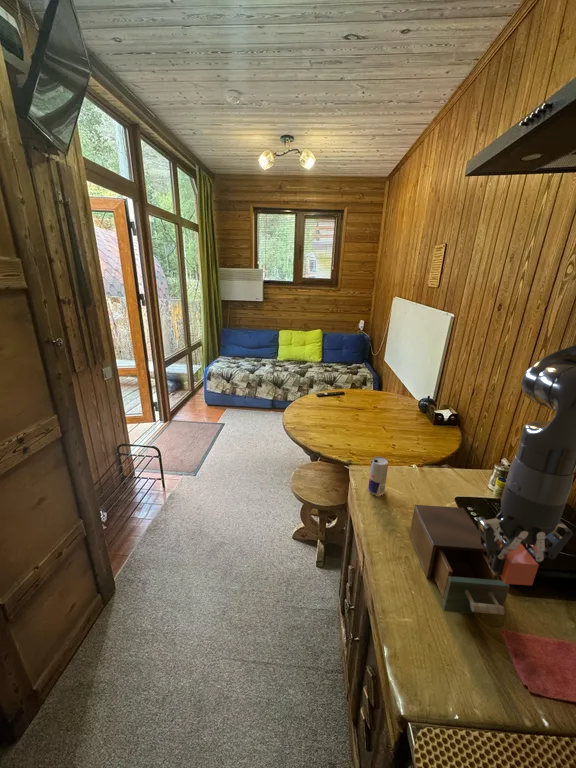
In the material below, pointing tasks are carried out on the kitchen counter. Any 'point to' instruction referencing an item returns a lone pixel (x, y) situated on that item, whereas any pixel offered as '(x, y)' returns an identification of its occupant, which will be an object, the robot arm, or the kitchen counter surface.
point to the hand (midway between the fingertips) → (510, 571)
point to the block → (519, 567)
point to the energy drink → (378, 476)
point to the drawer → (468, 582)
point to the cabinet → (442, 533)
